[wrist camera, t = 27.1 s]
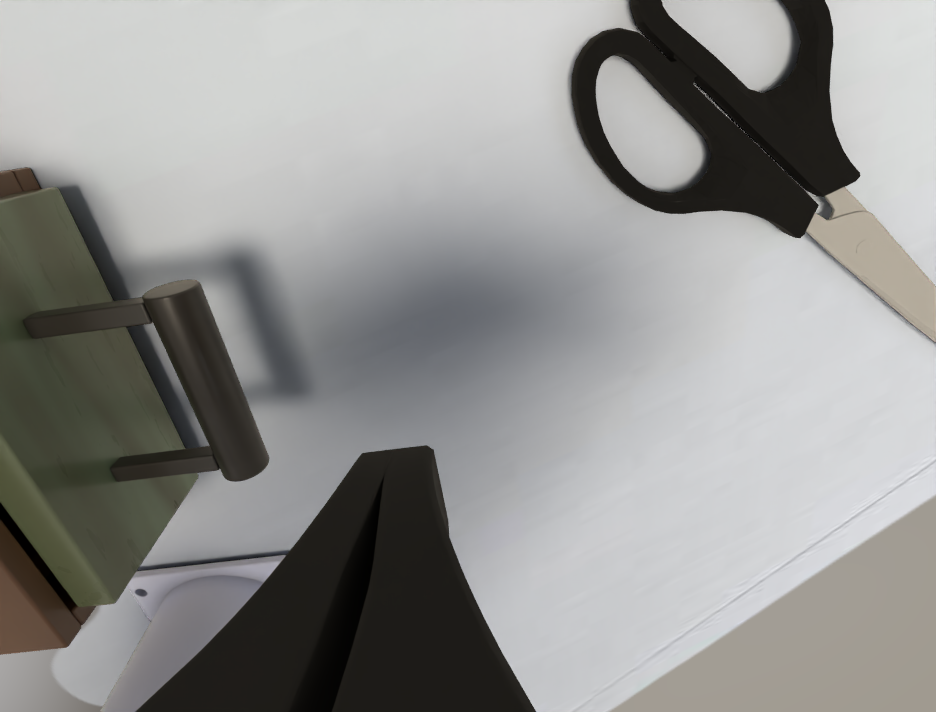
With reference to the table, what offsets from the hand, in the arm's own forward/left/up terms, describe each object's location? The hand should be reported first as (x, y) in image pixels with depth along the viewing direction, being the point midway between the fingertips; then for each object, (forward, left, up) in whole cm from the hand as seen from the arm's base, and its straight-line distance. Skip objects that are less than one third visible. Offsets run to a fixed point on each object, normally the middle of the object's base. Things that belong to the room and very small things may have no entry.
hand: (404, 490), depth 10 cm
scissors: (+1, -14, -9) cm, 17 cm away
